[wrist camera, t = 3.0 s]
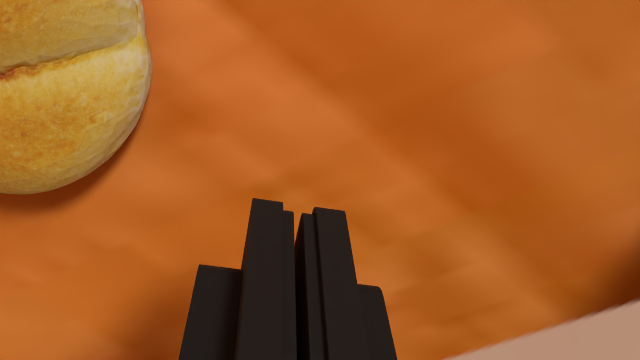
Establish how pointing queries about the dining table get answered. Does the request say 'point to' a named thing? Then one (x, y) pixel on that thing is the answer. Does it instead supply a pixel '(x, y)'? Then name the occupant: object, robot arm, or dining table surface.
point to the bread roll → (68, 87)
